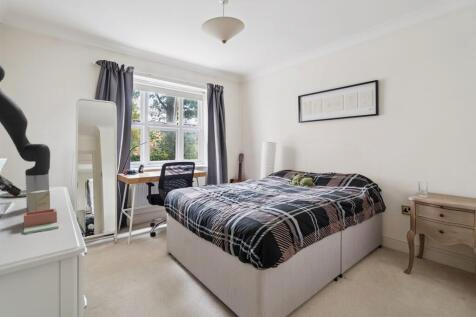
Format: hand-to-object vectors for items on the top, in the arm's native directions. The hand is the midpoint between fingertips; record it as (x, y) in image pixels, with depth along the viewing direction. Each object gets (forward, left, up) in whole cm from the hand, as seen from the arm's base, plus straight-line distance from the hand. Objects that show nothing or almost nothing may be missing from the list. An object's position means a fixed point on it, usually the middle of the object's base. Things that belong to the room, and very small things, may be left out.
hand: (18, 193), depth 98 cm
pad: (+18, +6, -12) cm, 23 cm away
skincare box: (0, +6, -12) cm, 14 cm away
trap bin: (+10, +6, -12) cm, 17 cm away
